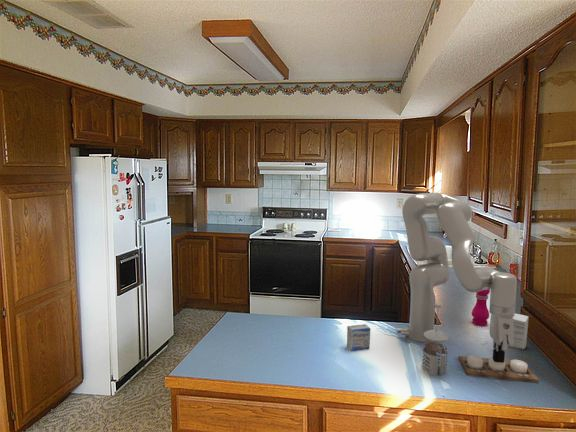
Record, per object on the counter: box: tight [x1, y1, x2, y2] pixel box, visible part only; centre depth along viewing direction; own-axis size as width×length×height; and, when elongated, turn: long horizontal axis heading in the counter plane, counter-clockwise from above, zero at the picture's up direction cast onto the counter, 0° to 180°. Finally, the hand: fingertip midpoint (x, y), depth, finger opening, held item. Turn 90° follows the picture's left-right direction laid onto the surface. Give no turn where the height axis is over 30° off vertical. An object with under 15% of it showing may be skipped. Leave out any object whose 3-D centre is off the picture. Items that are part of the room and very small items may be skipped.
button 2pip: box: [509, 359, 529, 374], centre depth 138 cm, size 5×5×3 cm
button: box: [487, 357, 505, 372], centre depth 139 cm, size 5×5×3 cm
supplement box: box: [507, 313, 529, 350], centre depth 159 cm, size 7×7×13 cm
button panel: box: [458, 355, 539, 384], centre depth 139 cm, size 22×12×3 cm, turn 80°
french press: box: [421, 303, 450, 376], centre depth 136 cm, size 10×12×25 cm
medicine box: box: [346, 323, 371, 352], centre depth 157 cm, size 8×4×9 cm, turn 105°
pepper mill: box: [471, 289, 491, 327], centre depth 181 cm, size 7×7×20 cm
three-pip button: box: [466, 355, 484, 370], centre depth 140 cm, size 5×5×3 cm
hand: (498, 361), depth 138 cm, fingers closed
